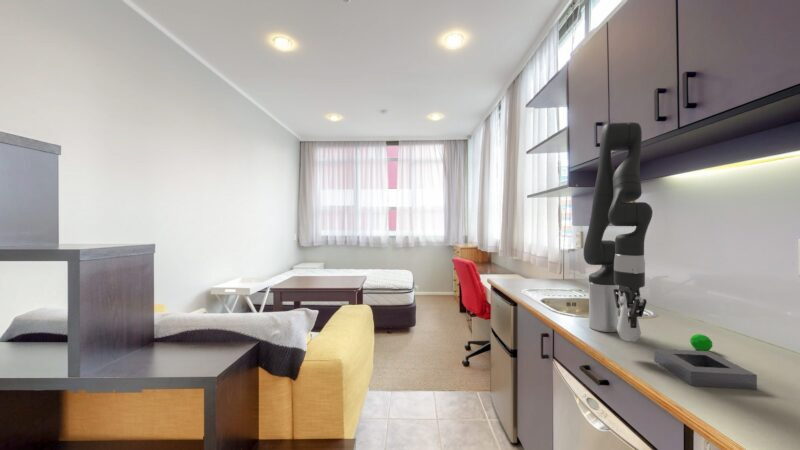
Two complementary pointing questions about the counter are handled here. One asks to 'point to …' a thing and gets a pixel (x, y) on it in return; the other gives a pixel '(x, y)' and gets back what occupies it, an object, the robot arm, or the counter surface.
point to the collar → (705, 369)
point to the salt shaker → (627, 325)
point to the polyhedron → (701, 342)
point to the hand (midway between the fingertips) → (628, 326)
